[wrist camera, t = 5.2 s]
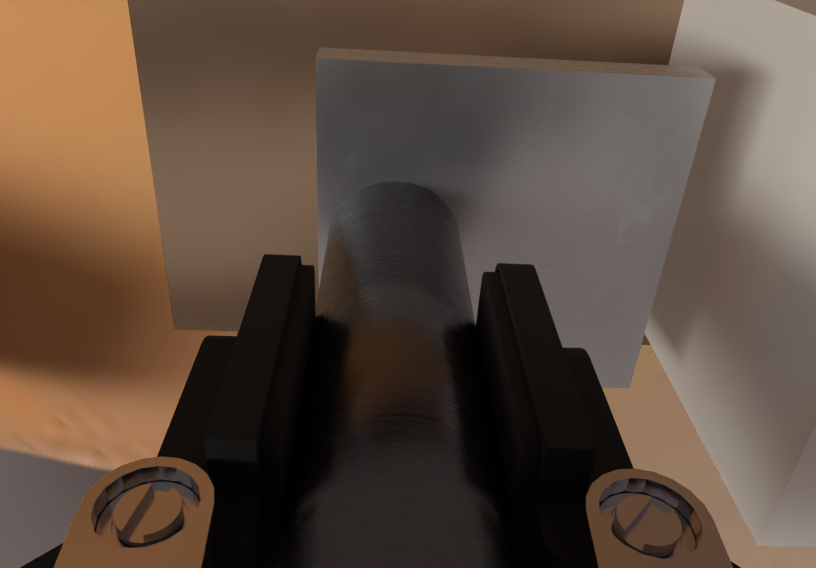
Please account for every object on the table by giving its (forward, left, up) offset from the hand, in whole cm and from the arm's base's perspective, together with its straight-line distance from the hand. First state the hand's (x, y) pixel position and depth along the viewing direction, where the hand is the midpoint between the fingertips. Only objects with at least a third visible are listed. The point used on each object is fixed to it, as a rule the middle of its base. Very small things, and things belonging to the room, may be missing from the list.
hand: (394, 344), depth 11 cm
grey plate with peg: (0, -2, -4) cm, 5 cm away
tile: (0, -8, -10) cm, 13 cm away
